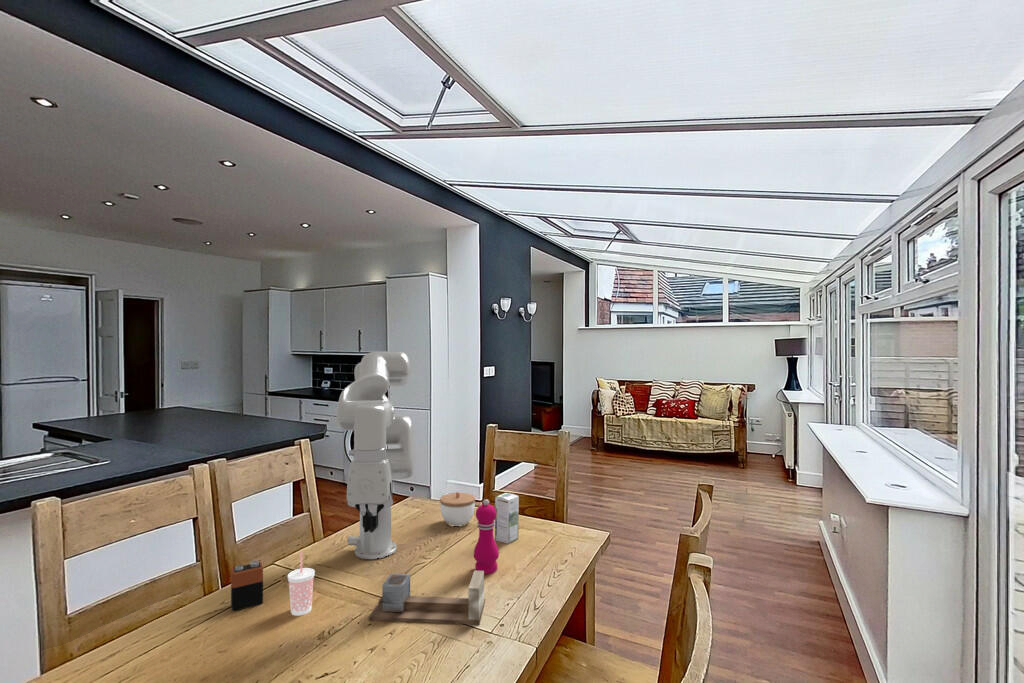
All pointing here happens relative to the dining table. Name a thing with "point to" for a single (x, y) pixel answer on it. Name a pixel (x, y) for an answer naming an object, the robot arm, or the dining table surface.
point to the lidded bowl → (457, 508)
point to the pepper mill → (486, 539)
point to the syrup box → (506, 517)
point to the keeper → (395, 592)
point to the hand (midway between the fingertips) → (370, 530)
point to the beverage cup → (301, 589)
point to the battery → (246, 585)
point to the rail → (440, 607)
